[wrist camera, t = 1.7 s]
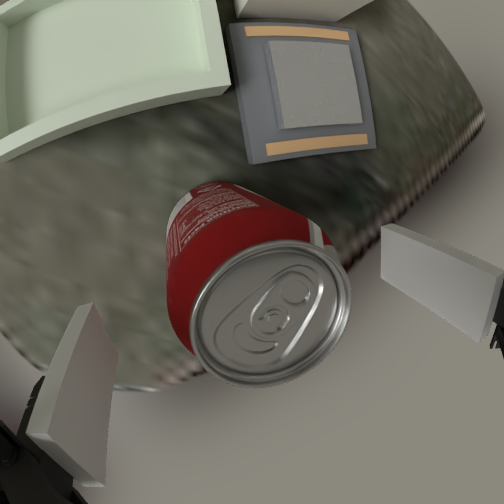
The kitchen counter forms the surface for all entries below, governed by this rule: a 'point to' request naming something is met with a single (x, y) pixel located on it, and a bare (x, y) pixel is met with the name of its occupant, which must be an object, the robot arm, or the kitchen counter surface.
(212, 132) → the kitchen counter surface
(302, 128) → the checker cradle
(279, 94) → the platform
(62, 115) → the trough
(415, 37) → the kitchen counter surface
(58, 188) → the kitchen counter surface
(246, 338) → the soda can
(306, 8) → the cup
